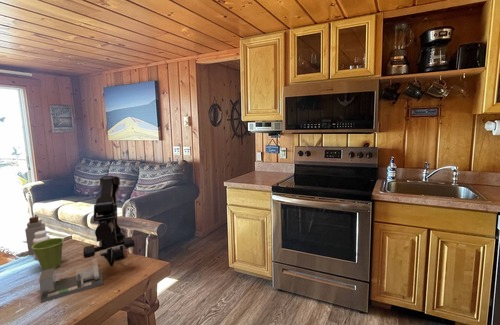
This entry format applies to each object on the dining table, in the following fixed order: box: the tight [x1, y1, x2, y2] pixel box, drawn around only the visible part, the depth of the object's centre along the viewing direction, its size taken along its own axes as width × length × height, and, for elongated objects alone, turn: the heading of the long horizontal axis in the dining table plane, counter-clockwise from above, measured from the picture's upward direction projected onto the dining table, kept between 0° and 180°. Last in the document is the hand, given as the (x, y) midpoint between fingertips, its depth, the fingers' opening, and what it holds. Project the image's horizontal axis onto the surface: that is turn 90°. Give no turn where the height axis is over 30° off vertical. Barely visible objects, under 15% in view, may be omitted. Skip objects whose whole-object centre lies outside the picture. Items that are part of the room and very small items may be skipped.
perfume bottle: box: [24, 216, 47, 257], centre depth 143 cm, size 7×7×18 cm
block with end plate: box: [75, 257, 99, 285], centre depth 113 cm, size 8×10×6 cm
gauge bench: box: [38, 268, 104, 304], centre depth 110 cm, size 20×12×7 cm, turn 121°
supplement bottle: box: [33, 231, 51, 261], centre depth 136 cm, size 7×7×13 cm
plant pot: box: [32, 237, 65, 271], centre depth 126 cm, size 12×12×11 cm
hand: (111, 266), depth 118 cm, fingers closed
